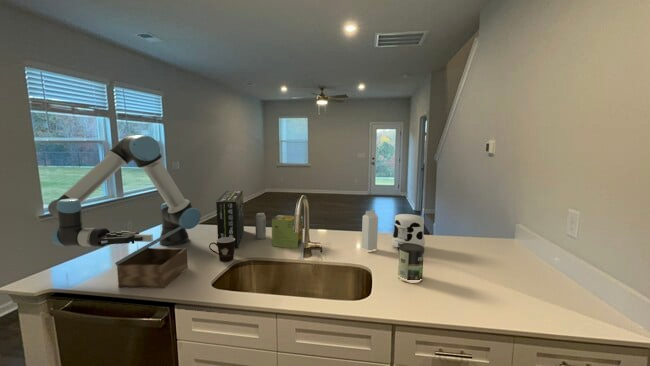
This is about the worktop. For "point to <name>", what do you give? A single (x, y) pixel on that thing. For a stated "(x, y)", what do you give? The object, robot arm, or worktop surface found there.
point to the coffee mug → (225, 248)
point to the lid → (148, 245)
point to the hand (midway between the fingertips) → (151, 238)
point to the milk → (369, 230)
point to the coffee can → (411, 261)
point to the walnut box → (152, 268)
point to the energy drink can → (260, 225)
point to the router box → (230, 216)
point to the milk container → (408, 230)
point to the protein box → (286, 232)
